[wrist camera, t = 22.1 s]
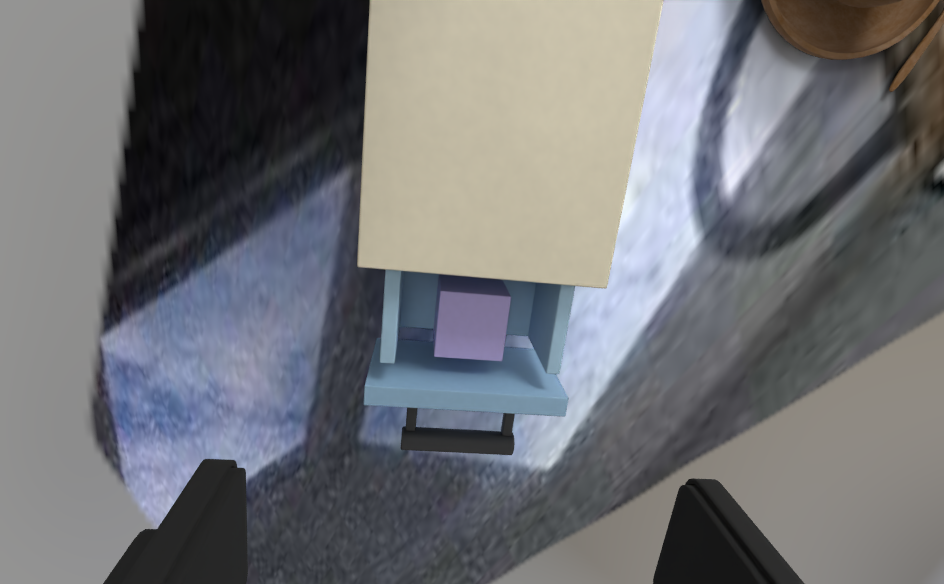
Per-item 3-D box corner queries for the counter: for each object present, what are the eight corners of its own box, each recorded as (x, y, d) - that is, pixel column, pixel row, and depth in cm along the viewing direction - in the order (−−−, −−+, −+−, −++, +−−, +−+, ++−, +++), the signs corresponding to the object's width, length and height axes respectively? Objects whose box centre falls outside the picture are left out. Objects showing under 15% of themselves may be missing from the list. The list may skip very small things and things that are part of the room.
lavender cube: (493, 335, 33) (502, 361, 30) (433, 331, 33) (433, 357, 29) (501, 277, 32) (511, 296, 28) (438, 271, 32) (440, 290, 28)
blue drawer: (531, 419, 37) (553, 480, 30) (372, 410, 35) (359, 472, 29) (573, 168, 32) (610, 177, 25) (388, 147, 30) (377, 151, 24)
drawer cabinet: (564, 251, 34) (606, 289, 26) (374, 233, 33) (357, 267, 25) (605, 10, 30) (671, -36, 22) (389, -22, 28) (373, -84, 20)
